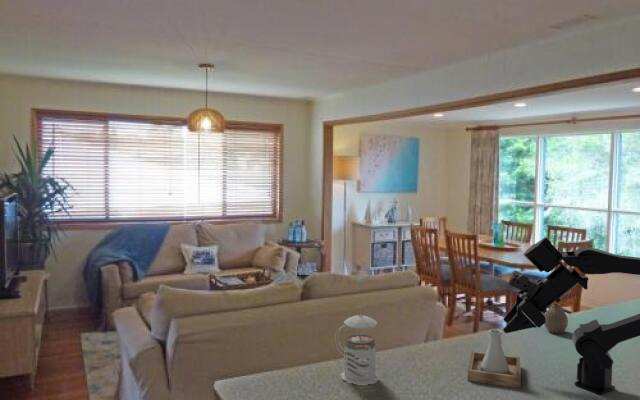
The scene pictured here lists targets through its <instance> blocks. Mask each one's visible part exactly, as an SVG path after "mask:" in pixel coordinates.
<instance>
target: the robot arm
mask: <svg viewBox="0 0 640 400" xmlns="http://www.w3.org/2000/svg"><path fill="white" fill-rule="evenodd" d="M523 256H524V257H525V258H526V259H527V260H528V261H529V262H530V263H531V265H533V267H534V268H536V269H537V270H538V272H540V273H542V272H545V273H547V275H546V276H545V277H544V278H540V277H539V278H538V279H537V280H536V279H535V280H534V279H532V278H531V277H529V275H525V274H524V273H522V272H519V271H518V270H513V272H512V273H511V275H510V277H509V279H508V280H507V282H508V283H507V284H508V285H509V286H511V287H512V288H516V289H518V290H517V292H516V293H515V294H516V295H515V303H514V304H513V305H512V307H511V308H510V310H509V311H508V312H507V314H506V315H505V316H504V318H503V321H504V322H505V323H506V325H505V327H504V328H503V330H502V332H504V333H505V334H510V333H515V332H519V331H523V330H527V329H533V328H534V329H536V328H541V327H542V326H543V325H545V313H546V312H547V310H548V309H549V308H550V307H551V306H552V304H559V302H561V301H562V300H561V298H562V297H563V296H566V294H568V293H569V292H570V291H571V290H572V289H574V288H575V287H576V286H578V285H580V286H581V287H582V288H583V289H584V290H585V291H586V290H587V291H588V289H589V288H588V287H589V286H588V284H589V283H588V282H589V277H588V276H585V275H607V274H616V273H617V274H618V273H619V274H620V273H621V274H629V275H637V276H640V257H638V256H637V257H636V256H629V255H619V254H615V253H611V252H608V251H605V250H602V249H598V248H595V247H591V246H579V247H578V248H577V249H575V250H571V251H570V250H569V251H568V250H567V251H560V250H559V249H558V248H557V247H556V246H555V245H553V243H552V242H551V240H550V239H549V238H548V237H546V236H544V237H543V238H542V239H541V240H539V241H537V242H536V243H533V244H532V245H531V246H530V247H528V248H527V249H526V251H524V253H523ZM563 262H564V263H565V264H566V265H567V266H570V267H569V268H568V267H567V266H566V265H565V264H564V263H563ZM575 268H577V270H578V271H579V272H581V273H583V274H584V276H583V275H582V274H580V273H579V272H578V271H577V270H576V269H575ZM548 273H549V274H548ZM578 325H579V327H578V328H576V329H575V330H573V333H572V336H571V337H572V340H571V341H572V343H573V346H574V347H575V350H576V352H577V353H578V355H580V356H581V357H579V360H578V363H577V366H576V380H577V381H575V382H574V385H575V386H577V387H578V388H579V387H580V388H582V389H585V390H587V391H590V392H592V393H595V394H598V395H602V394H606V393H608V392H610V391H613V390H615V389H616V386H615V385H612V380H613V364H614V360H613V358H612V356H611V354H610V353H609V352H610V351H611V350H612V349H613V348H615V347H616V346H617V345H618V344H620V343H622V342H625V341H629V340H631V339H635V338H637V337H640V313H638V314H634V315H632V316H628V317H627V318H623V319H620V320H617V321H614V322H612V323H609V324H608V323H607V324H600V323H599V321H598V320H597V319H593V320H591V321H589V322H586V323H581V324H578Z"/></svg>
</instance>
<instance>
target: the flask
mask: <svg viewBox="0 0 640 400" xmlns="http://www.w3.org/2000/svg"><path fill="white" fill-rule="evenodd" d="M488 333H489V341H488V346H487V349H486V351H485V353H486V354H485V356H484V359H483V361H482V364H481V366H480V369H481V370H483V371H485V372H492V373H499V374H508V373H509V367H508V364H507V361H506V359H505V355H506V354H505V351H504V348H503V344H502V340H501V339H502V338H501V337H502V334H503V330H499V329H489V330H488Z"/></svg>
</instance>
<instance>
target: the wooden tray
mask: <svg viewBox="0 0 640 400" xmlns="http://www.w3.org/2000/svg"><path fill="white" fill-rule="evenodd" d="M485 354H486V352H481V351H473V350H472V351H471V354H470V359H469V364H468V368H467V381H468V382H469V381H471V382H477V383H483V384H489V385H498V386H502V387H503V386H505V387H510V388H511V387H512V388H519V389H521V387H522V386H521V383H522V375H521V374H522V373H521V372H522V371H521V359H520V358H521V357H519V356H515V355H514V356H512V355H506V354H504V355H505V359H506V361H507V364H508V367H509V373H508V374H499V373H492V372H485V371H483V370H481V369H480V366H481V364H482V361H483V359H484V356H485Z"/></svg>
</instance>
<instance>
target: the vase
mask: <svg viewBox="0 0 640 400" xmlns="http://www.w3.org/2000/svg"><path fill="white" fill-rule="evenodd" d="M568 324H569V317H568V315H567V313H566V312H565V310H564V309H563V308H562V305H561V304H559V303H553V304H552V305H551V306H550V307H548V308H547V312H545V324H544V327H545V328H546V330H547V331H548V332H549V333H551V334H555V335H556V334H557V335H558V334H563V333H564V332H565V331H566V330H567V328H568Z"/></svg>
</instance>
